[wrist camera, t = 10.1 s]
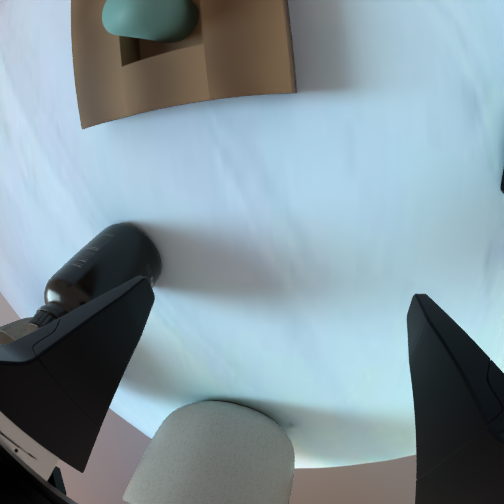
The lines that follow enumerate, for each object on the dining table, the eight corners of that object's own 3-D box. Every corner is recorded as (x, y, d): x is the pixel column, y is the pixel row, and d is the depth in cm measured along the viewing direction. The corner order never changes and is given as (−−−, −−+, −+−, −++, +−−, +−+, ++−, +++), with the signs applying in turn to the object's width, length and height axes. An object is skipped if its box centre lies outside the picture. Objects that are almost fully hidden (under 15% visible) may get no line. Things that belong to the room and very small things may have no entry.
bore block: (277, -64, 9) (268, -84, 6) (296, 93, 15) (291, 92, 13) (97, -9, 12) (71, -13, 10) (108, 121, 18) (82, 129, 16)
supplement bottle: (104, 267, 27) (30, 349, 17) (103, 210, 23) (5, 292, 13) (161, 295, 27) (95, 395, 17) (169, 238, 23) (78, 346, 13)
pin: (197, -8, 12) (155, -31, 8) (200, 36, 13) (158, 22, 9) (149, 6, 12) (101, -7, 8) (153, 48, 14) (103, 44, 10)
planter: (328, 411, 32) (306, 548, 16) (278, 452, 43) (255, 540, 28) (172, 363, 33) (106, 494, 17) (170, 418, 45) (132, 502, 29)
